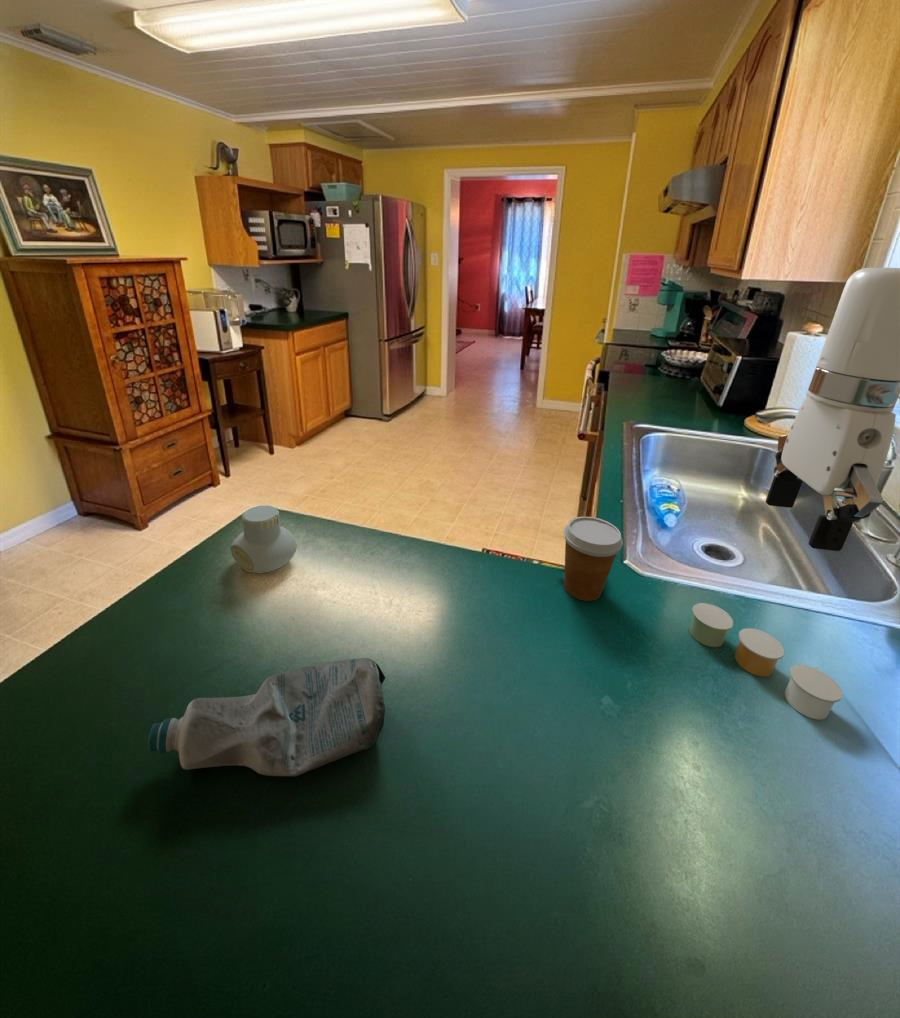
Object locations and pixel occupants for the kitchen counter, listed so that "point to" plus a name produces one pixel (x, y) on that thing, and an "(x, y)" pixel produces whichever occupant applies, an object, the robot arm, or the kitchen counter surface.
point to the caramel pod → (758, 652)
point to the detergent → (282, 721)
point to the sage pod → (710, 624)
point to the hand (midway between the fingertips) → (799, 525)
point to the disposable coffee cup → (589, 556)
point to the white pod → (812, 691)
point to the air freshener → (263, 541)
